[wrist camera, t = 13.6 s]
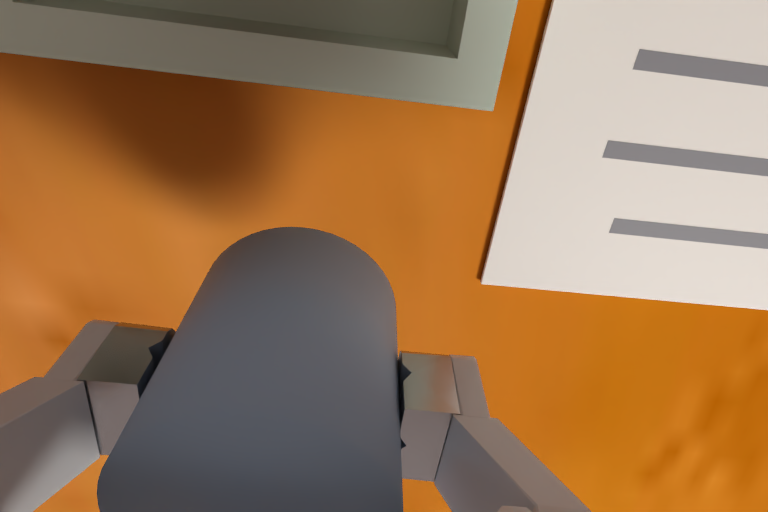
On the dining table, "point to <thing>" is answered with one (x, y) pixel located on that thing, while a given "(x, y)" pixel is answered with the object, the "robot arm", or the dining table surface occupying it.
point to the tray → (283, 42)
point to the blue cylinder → (271, 389)
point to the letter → (642, 155)
